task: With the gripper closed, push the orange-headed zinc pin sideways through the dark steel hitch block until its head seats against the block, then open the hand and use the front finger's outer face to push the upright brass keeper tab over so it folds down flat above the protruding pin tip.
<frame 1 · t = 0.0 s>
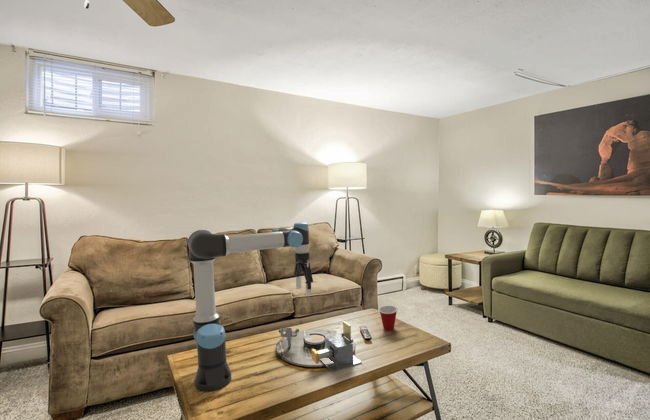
hand: (303, 291, 180), 28 cm above the table, fingers open, 13 cm apart
hitch block: (339, 360, 162), on the table
mechanical component: (289, 348, 178), on the table
plastic cup: (388, 329, 197), on the table
lynch pin: (327, 352, 159), point 6 cm above the table, slide at 0.0 cm
keeper tab: (347, 330, 163), point 14 cm above the table, hinge at 90.0°
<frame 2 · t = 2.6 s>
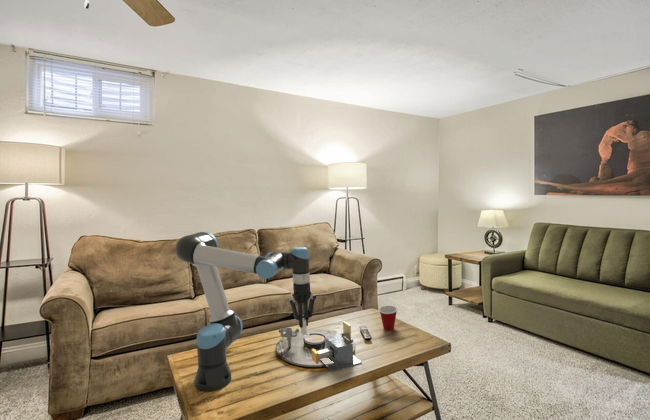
hand: (303, 333, 153), 17 cm above the table, fingers closed
nothing on the table moved.
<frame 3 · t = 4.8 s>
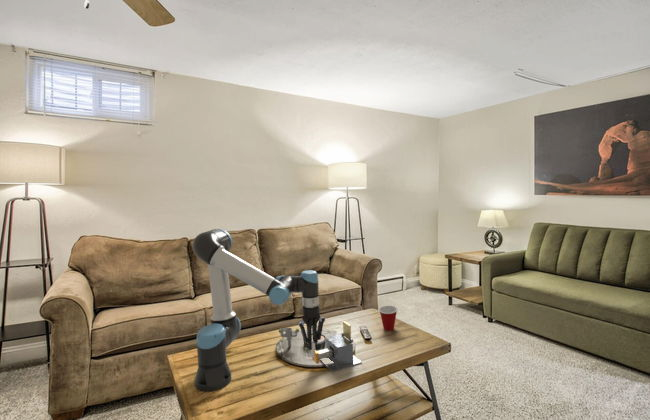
hand: (312, 355, 156), 6 cm above the table, fingers closed
lynch pin: (328, 352, 159), point 5 cm above the table, slide at 0.1 cm, touching gripper
everything else where it was.
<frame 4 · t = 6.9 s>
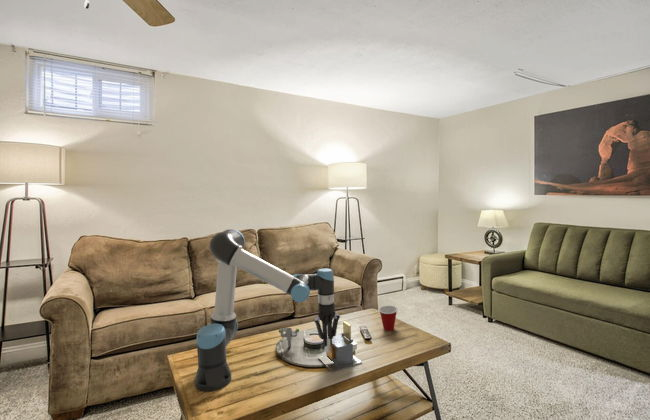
hand: (328, 351, 159), 6 cm above the table, fingers closed
lynch pin: (342, 348, 163), point 5 cm above the table, slide at 7.9 cm, touching gripper
everything else where it was.
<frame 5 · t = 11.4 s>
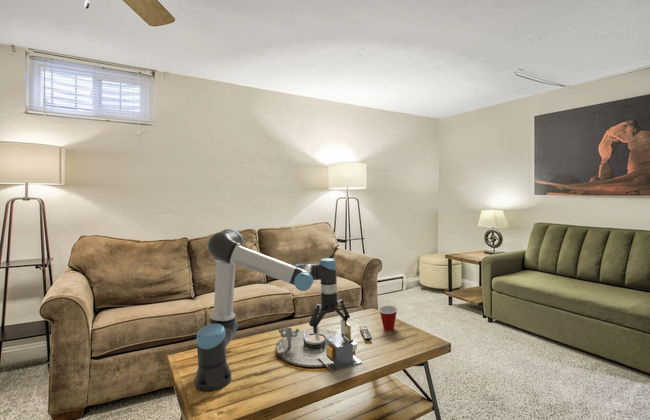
hand: (330, 336, 160), 13 cm above the table, fingers open, 13 cm apart
lynch pin: (342, 348, 163), point 5 cm above the table, slide at 7.9 cm
keeper tab: (347, 330, 163), point 14 cm above the table, hinge at 90.0°, touching gripper
everything else where it was.
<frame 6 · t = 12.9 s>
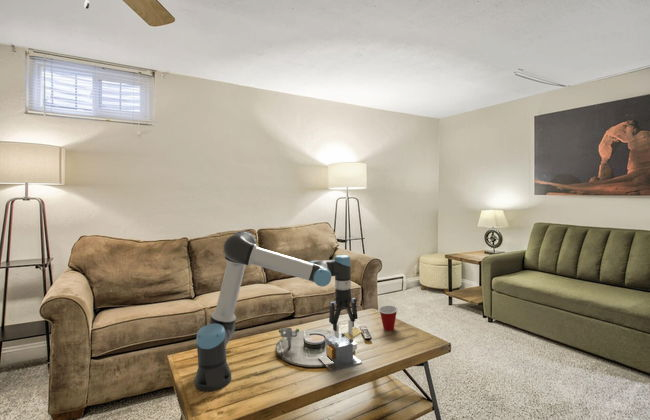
hand: (343, 335, 163), 12 cm above the table, fingers open, 7 cm apart
keeper tab: (353, 333, 165), point 12 cm above the table, hinge at 20.1°, touching gripper
everything else where it was.
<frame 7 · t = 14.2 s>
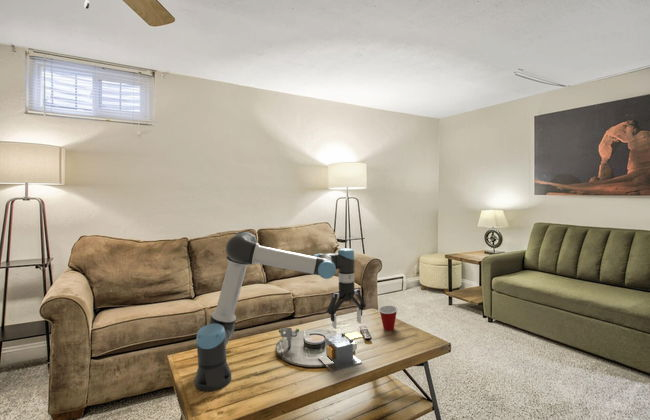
hand: (346, 324, 164), 17 cm above the table, fingers open, 13 cm apart
keeper tab: (353, 336, 165), point 10 cm above the table, hinge at -1.5°
everything else where it was.
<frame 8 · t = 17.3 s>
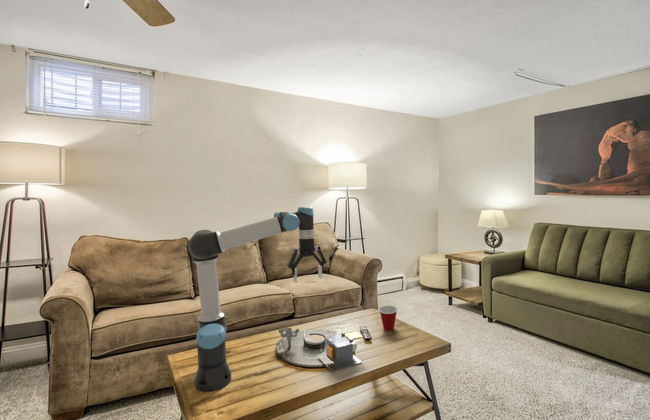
hand: (308, 279, 171), 37 cm above the table, fingers open, 13 cm apart
nothing on the table moved.
at the end: lynch pin slide at 7.9 cm; keeper tab at -2° (first picture: +90°) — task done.
